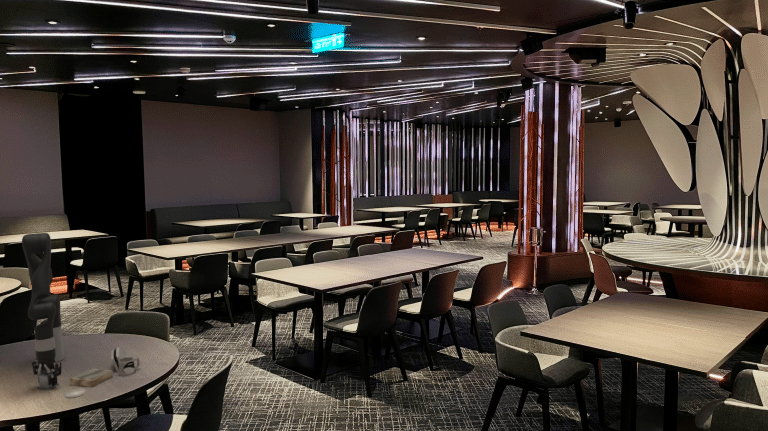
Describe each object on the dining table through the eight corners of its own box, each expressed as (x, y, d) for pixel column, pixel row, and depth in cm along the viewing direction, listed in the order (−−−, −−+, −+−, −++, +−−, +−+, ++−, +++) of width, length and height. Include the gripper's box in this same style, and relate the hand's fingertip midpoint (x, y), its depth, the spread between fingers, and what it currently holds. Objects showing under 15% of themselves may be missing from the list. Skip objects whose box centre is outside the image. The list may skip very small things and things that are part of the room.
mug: (124, 376, 260) (123, 362, 259) (116, 374, 263) (115, 360, 262) (144, 369, 268) (143, 356, 267) (135, 367, 272) (134, 353, 271)
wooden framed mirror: (70, 384, 251) (70, 377, 251) (90, 374, 263) (90, 368, 262) (93, 387, 248) (92, 380, 248) (112, 376, 260) (112, 370, 259)
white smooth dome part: (60, 397, 238) (59, 395, 238) (74, 390, 246) (74, 387, 246) (76, 399, 236) (75, 396, 236) (90, 391, 244) (90, 389, 244)
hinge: (128, 370, 267) (119, 352, 265) (118, 375, 266) (109, 357, 264) (131, 359, 283) (122, 341, 281) (121, 363, 281) (113, 346, 279)
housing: (38, 389, 247) (36, 372, 247) (48, 384, 253) (47, 368, 252) (48, 390, 246) (47, 373, 245) (58, 385, 251) (57, 369, 251)
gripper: (24, 349, 246) (27, 386, 247) (51, 351, 242) (54, 389, 244) (39, 344, 253) (42, 380, 255) (65, 346, 249) (68, 382, 251)
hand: (48, 384), depth 249 cm, fingers open, 6 cm apart
